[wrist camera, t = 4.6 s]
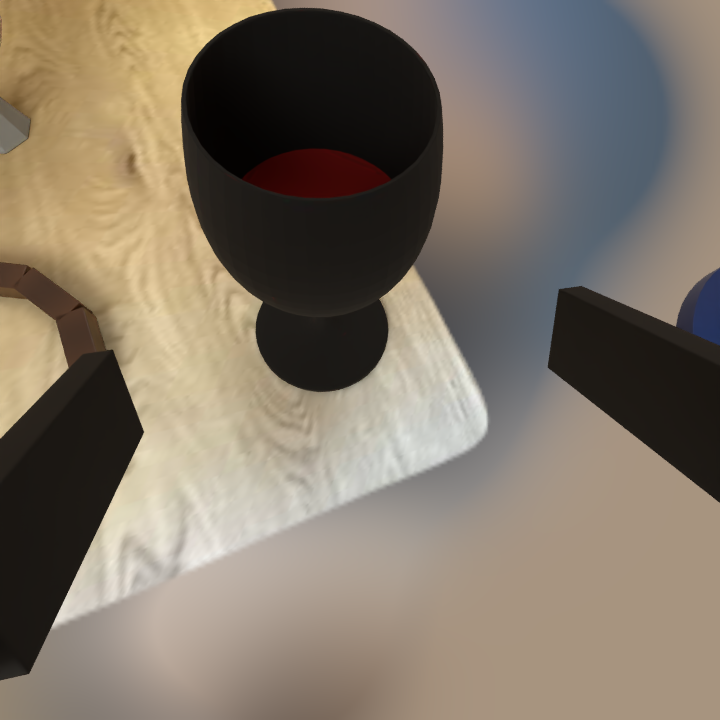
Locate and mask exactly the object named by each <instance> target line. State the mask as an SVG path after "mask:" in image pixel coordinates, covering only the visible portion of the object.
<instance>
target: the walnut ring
mask: <svg viewBox="0 0 720 720" xmlns="http://www.w3.org/2000/svg"><path fill="white" fill-rule="evenodd" d="M0 296H2V297H12V298H21V299H28V300H29V301H31V302H32V303H33V304H35V305H36V306H37V307H39V308H40V309H41V310H43V311H44V312H45V313H47V314H48V315H49V316H50V317H52V318H53V319H54V320H56V323H57V326H58V330H59V334H60V337H61V341H62V345H63V348H64V352H65V356H66V359H67V363H68V367H69V368H70V367H71V365H72V364H73V363H74V362H75V361H76V360H77V359H78V358H79V357H80V356H81V355H82V354H86V353H93V352H100V351H106V349H105V345H104V342H103V339H102V336H101V332H100V329H99V326H98V323H97V319H96V317H95V316H94V315H92V311H90V310H89V309H88V308H87V307H85V306H84V305H83V304H82V303H80V302H79V301H78V300H76V299H75V298H74V297H72V296H71V295H70V294H68V293H67V292H66V291H64V290H63V289H62V288H60V287H59V286H58V285H56V284H55V283H54V282H52V281H51V280H50V279H48V278H47V277H45V276H44V275H43V274H41V273H40V272H39V271H37V270H36V269H35V268H32V269H31V268H30V267H29V266H27V265H20V264H11V263H1V262H0Z"/></svg>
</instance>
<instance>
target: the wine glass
mask: <svg viewBox="0 0 720 720" xmlns="http://www.w3.org/2000/svg"><path fill="white" fill-rule="evenodd" d="M181 123H182V138H183V149H184V159H185V167H186V174H187V181H188V185H189V190H190V194H191V198H192V201H193V204H194V207H195V210H196V213H197V216H198V219H199V222H200V225H201V228H202V230H203V232H204V234H205V236H206V238H207V240H208V242H209V244H210V245H211V247H212V249H213V251H214V253H215V255H216V256H217V258H218V259H219V261H220V262H221V263H222V264H223V266H224V267H225V268H226V269H227V271H228V272H229V273H230V275H231V276H232V277H233V278H234V279H235V280H236V281H237V282H238V283H239V284H240V285H242V286H243V287H244V288H245V289H246V290H247V291H248V292H250V293H251V294H252V295H254V296H255V297H257V298H258V299H260V300H262V301H263V303H262V305H261V308H260V310H259V312H258V316H257V321H256V339H257V344H258V347H259V350H260V353H261V355H262V357H263V359H264V360H265V362H266V364H267V365H268V366H269V367H270V369H271V370H272V371H273V372H274V373H275V374H276V375H277V376H278V377H280V378H281V379H283V380H284V381H286V382H287V383H289V384H291V385H293V386H295V387H298V388H301V389H305V390H309V391H317V392H327V391H335V390H340V389H343V388H346V387H349V386H351V385H353V384H355V383H357V382H359V381H360V380H362V379H363V378H364V377H365V376H367V375H368V374H369V373H370V372H371V371H372V370H373V369H374V368H375V366H376V365H377V363H378V362H379V360H380V359H381V357H382V354H383V352H384V350H385V347H386V343H387V338H388V322H387V317H386V313H385V310H384V308H383V306H382V303H381V302H380V300H379V299H380V298H381V297H382V296H384V295H385V294H387V293H388V292H389V291H390V290H391V289H392V288H393V287H394V286H395V285H396V284H397V283H398V282H399V281H400V280H401V279H402V278H403V277H404V276H405V275H406V273H407V272H408V270H409V269H410V268H411V266H412V265H413V263H414V262H415V261H416V259H417V257H418V255H419V253H420V252H421V249H422V247H423V245H424V243H425V241H426V239H427V236H428V233H429V231H430V229H431V226H432V222H433V218H434V214H435V210H436V206H437V202H438V198H439V192H440V185H441V174H442V158H443V119H442V106H441V99H440V92H439V89H438V87H437V84H436V81H435V78H434V76H433V75H432V73H431V71H430V69H429V68H428V66H427V64H426V63H425V61H424V60H423V59H422V58H421V56H420V55H419V54H418V53H417V52H416V51H415V50H414V49H413V48H412V47H411V46H410V45H409V44H408V43H406V42H405V41H404V40H403V39H402V38H400V37H399V36H397V35H396V34H394V33H393V32H391V31H390V30H388V29H386V28H384V27H382V26H381V25H379V24H377V23H375V22H372V21H370V20H367V19H364V18H362V17H359V16H356V15H352V14H348V13H344V12H339V11H334V10H328V9H320V8H292V9H282V10H276V11H271V12H266V13H262V14H258V15H255V16H251V17H248V18H246V19H244V20H242V21H240V22H238V23H235V24H233V25H232V26H230V27H228V28H227V29H225V30H223V31H222V32H220V33H219V34H217V35H216V36H215V37H214V38H213V39H212V40H210V41H209V42H208V43H207V44H206V45H205V46H204V47H203V49H202V50H201V51H200V52H199V53H198V54H197V56H196V57H195V59H194V60H193V62H192V64H191V65H190V67H189V69H188V71H187V74H186V77H185V80H184V83H183V89H182V97H181Z"/></svg>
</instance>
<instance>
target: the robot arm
mask: <svg viewBox="0 0 720 720" xmlns="http://www.w3.org/2000/svg"><path fill="white" fill-rule="evenodd" d="M548 368H549V369H550V370H552V371H553V372H554V373H555V374H557V375H558V376H559V377H561V378H562V379H563V380H564V381H566V382H567V383H568V384H569V385H571V386H572V387H573V388H574V389H576V390H577V391H578V392H580V393H581V394H582V395H584V396H585V397H586V398H587V399H588V400H590V401H591V402H592V403H594V404H595V405H596V406H597V407H599V408H600V409H601V410H603V411H604V412H605V413H606V414H608V415H609V416H610V417H611V418H613V419H614V420H615V421H616V422H618V423H619V424H620V425H622V426H623V427H624V428H625V429H627V430H628V431H629V432H630V433H632V434H633V435H634V436H636V437H637V438H638V439H639V440H641V441H642V442H643V443H644V444H646V445H647V446H648V447H650V448H651V449H652V450H653V451H655V452H656V453H657V454H658V455H660V456H661V457H662V458H664V459H665V460H666V461H667V462H669V463H670V464H671V465H673V466H674V467H675V468H676V469H678V470H679V471H680V472H682V473H683V474H684V475H685V476H686V477H688V478H689V479H690V480H692V481H693V482H694V483H695V484H697V485H698V486H699V487H700V488H702V489H703V490H704V491H706V492H707V493H708V494H709V495H711V496H712V497H713V498H715V499H716V500H717V501H718V502H720V346H719V345H717V344H714V343H712V342H710V341H708V340H705V339H703V338H701V337H698V336H696V335H694V334H691V333H689V332H687V331H684V330H682V329H680V328H677V327H675V326H673V325H670V324H668V323H666V322H663V321H661V320H659V319H657V318H654V317H652V316H650V315H647V314H645V313H643V312H640V311H638V310H636V309H633V308H631V307H629V306H626V305H624V304H622V303H620V302H617V301H615V300H612V299H610V298H608V297H605V296H603V295H601V294H598V293H596V292H594V291H592V290H589V289H587V288H585V287H582V286H579V287H571V288H564V289H559V293H558V299H557V306H556V313H555V320H554V327H553V334H552V341H551V348H550V355H549V362H548ZM143 433H144V431H143V428H142V425H141V423H140V420H139V417H138V415H137V412H136V410H135V407H134V404H133V402H132V399H131V396H130V394H129V391H128V389H127V386H126V383H125V381H124V378H123V375H122V373H121V370H120V368H119V365H118V362H117V360H116V357H115V354H114V352H113V350H108V351H100V352H93V353H86V354H82V355H81V356H80V357H79V358H78V359H77V360H76V361H75V362H74V363H73V364H72V365H71V367H70V368H69V369H68V370H67V371H66V372H65V373H64V374H63V375H62V376H61V377H60V378H59V379H58V380H57V381H56V382H55V383H54V384H53V385H52V386H51V387H50V388H49V389H48V390H47V391H46V392H45V393H44V394H43V395H42V396H41V397H40V398H39V400H38V401H37V402H36V403H35V404H34V405H33V406H32V407H31V408H30V409H29V410H28V411H27V412H26V413H25V414H24V415H23V416H22V417H21V418H20V419H19V420H18V421H17V422H16V423H15V424H14V425H13V426H12V427H11V428H10V429H9V430H8V431H7V432H6V434H5V435H4V436H3V437H2V438H1V439H0V680H4V679H8V678H13V677H17V676H22V675H26V674H29V673H30V671H31V669H32V667H33V665H34V662H35V660H36V658H37V656H38V654H39V652H40V650H41V648H42V646H43V644H44V641H45V639H46V637H47V635H48V633H49V631H50V629H51V627H52V625H53V623H54V620H55V618H56V616H57V614H58V612H59V610H60V608H61V606H62V604H63V602H64V599H65V597H66V595H67V593H68V591H69V589H70V587H71V585H72V583H73V581H74V578H75V576H76V574H77V572H78V570H79V568H80V566H81V564H82V562H83V560H84V557H85V555H86V553H87V551H88V549H89V547H90V545H91V543H92V541H93V539H94V536H95V534H96V532H97V530H98V528H99V526H100V524H101V522H102V520H103V518H104V515H105V513H106V511H107V509H108V507H109V505H110V503H111V501H112V499H113V497H114V494H115V492H116V490H117V488H118V486H119V484H120V482H121V480H122V478H123V476H124V473H125V471H126V469H127V467H128V465H129V463H130V461H131V459H132V457H133V454H134V452H135V450H136V448H137V446H138V444H139V442H140V440H141V438H142V436H143Z"/></svg>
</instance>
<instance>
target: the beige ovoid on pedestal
mask: <svg viewBox="0 0 720 720" xmlns="http://www.w3.org/2000/svg"><path fill="white" fill-rule="evenodd" d="M1 37H2V20H1V16H0V45H1ZM29 126H30V119H29V118H28V117H27V116H25V115H24V114H23V113H21V112H20V111H18V110H17V109H16V108H14V107H13V106H12V105H10V104H9V103H8V102H6V101H5V100H4V99H2V98H1V97H0V153H8V152H9V151H10V150H12V149H13V148H15V147H16V146H18V145H19V144H20V143H22V142H23V141H25V140H26V139H28V134H29Z"/></svg>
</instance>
